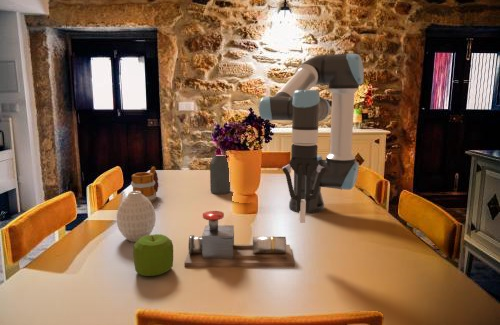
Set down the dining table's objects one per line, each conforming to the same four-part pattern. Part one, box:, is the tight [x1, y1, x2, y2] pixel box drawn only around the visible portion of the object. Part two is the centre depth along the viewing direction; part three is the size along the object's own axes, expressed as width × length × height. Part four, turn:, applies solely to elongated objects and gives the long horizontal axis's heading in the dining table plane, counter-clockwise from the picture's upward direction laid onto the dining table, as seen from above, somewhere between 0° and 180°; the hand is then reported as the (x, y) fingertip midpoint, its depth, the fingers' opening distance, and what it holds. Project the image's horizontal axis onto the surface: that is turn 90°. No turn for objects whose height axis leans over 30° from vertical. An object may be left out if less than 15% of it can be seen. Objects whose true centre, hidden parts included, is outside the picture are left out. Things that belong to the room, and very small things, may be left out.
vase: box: [116, 190, 157, 243], centre depth 126 cm, size 13×13×17 cm
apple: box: [132, 233, 174, 277], centre depth 103 cm, size 11×11×11 cm
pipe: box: [252, 236, 287, 254], centre depth 113 cm, size 10×5×5 cm, turn 90°
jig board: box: [184, 244, 295, 268], centre depth 113 cm, size 32×13×2 cm, turn 90°
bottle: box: [209, 152, 231, 195], centre depth 185 cm, size 10×10×30 cm
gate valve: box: [188, 210, 235, 260], centre depth 112 cm, size 13×9×13 cm, turn 90°
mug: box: [130, 166, 159, 203], centre depth 173 cm, size 11×16×15 cm, turn 158°
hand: (302, 221), depth 111 cm, fingers closed
